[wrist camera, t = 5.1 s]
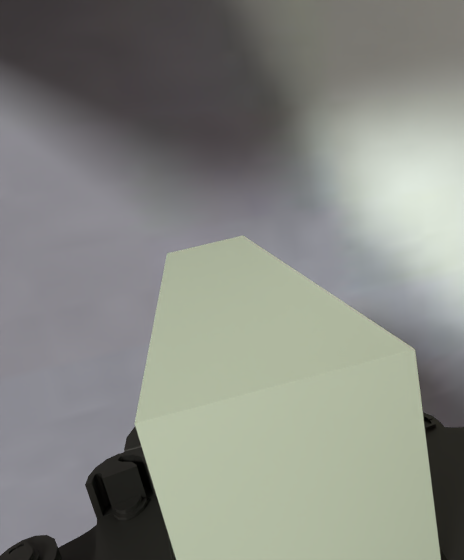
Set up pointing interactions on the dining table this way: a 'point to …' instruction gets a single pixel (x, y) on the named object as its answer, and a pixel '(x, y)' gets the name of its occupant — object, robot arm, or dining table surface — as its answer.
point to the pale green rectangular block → (280, 418)
